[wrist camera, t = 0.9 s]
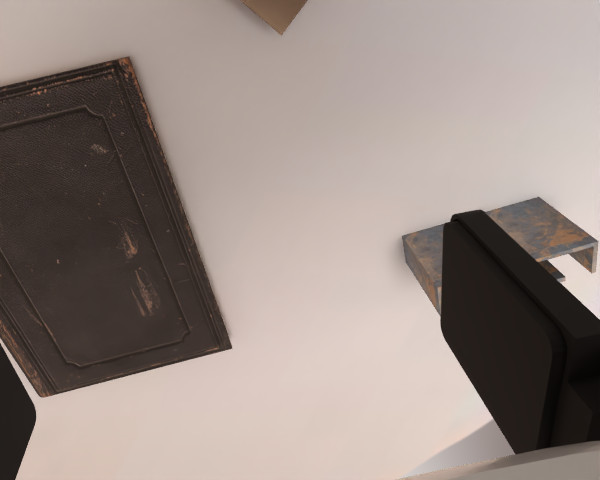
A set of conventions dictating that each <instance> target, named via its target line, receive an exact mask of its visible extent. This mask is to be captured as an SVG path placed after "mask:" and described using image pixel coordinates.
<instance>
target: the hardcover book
mask: <svg viewBox="0 0 600 480" xmlns="http://www.w3.org/2000/svg"><path fill="white" fill-rule="evenodd" d="M0 338H1V339H2V341H3V342H4V344H5V346H6V347H7V349H8V350H9V352H10V353H11V355H12V356H13V358H14V359H15V361H16V362H17V364H18V365H19V367H20V368H21V370H22V371H23V373H24V374H25V376H26V377H27V379H28V380H29V382H30V383H31V385H32V386H33V388H34V389H35V391H36V392H37V394H38V395H39V396H40V397H48V396H52V395H55V394H59V393H63V392H67V391H71V390H75V389H78V388H82V387H86V386H90V385H94V384H98V383H102V382H105V381H109V380H113V379H117V378H121V377H125V376H128V375H132V374H136V373H140V372H144V371H148V370H152V369H155V368H159V367H163V366H167V365H171V364H175V363H179V362H182V361H186V360H190V359H194V358H198V357H202V356H205V355H209V354H213V353H217V352H221V351H225V350H229V349H232V345H231V342H230V339H229V337H228V334H227V331H226V328H225V325H224V323H223V320H222V317H221V314H220V311H219V309H218V306H217V303H216V300H215V297H214V294H213V292H212V289H211V286H210V283H209V280H208V278H207V275H206V272H205V269H204V266H203V264H202V261H201V258H200V255H199V252H198V250H197V247H196V244H195V241H194V238H193V235H192V233H191V230H190V227H189V224H188V221H187V219H186V216H185V213H184V210H183V207H182V205H181V202H180V199H179V196H178V193H177V191H176V188H175V185H174V182H173V179H172V177H171V174H170V171H169V168H168V165H167V162H166V160H165V157H164V154H163V151H162V148H161V146H160V143H159V140H158V137H157V134H156V132H155V129H154V126H153V123H152V120H151V118H150V115H149V112H148V109H147V106H146V103H145V101H144V98H143V95H142V92H141V89H140V87H139V84H138V81H137V78H136V75H135V73H134V70H133V67H132V64H131V61H130V59H129V57H125V58H121V59H117V60H113V61H109V62H104V63H100V64H96V65H92V66H87V67H83V68H79V69H75V70H71V71H66V72H62V73H58V74H54V75H50V76H45V77H41V78H37V79H33V80H28V81H24V82H20V83H16V84H12V85H7V86H3V87H0Z"/></svg>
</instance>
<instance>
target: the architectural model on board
mask: <svg viewBox="0 0 600 480" xmlns="http://www.w3.org/2000/svg"><path fill="white" fill-rule="evenodd" d="M485 213H486V214H487V215H488V216H489V217H490V218H491V219H493V220H494V221H495V222H496V223H497V224H498V225H499V226H500V227H501V228H502V229H503V230H504V231H505V232H506V233H507V234H509V235H510V236H511V237H512V238H513V239H514V240H515V241H516V242H517V243H518V244H519V245H520V246H521V247H522V248H523V249H525V250H526V251H527V252H528V253H529V254H530V255H531V256H532V257H533V258H534V259H535V260H536V261H537V262H538V263H539V264H541V265H542V266H543V267H544V268H545V269H546V270H547V271H548V272H549V273H550V274H551V275H552V276H553V277H554V278H555V279H557V280H558V281H559V282H563V281H565V276H564V275H563V274H562V273H561V272H560V271H558V270H557V269H556V268H555V267H554V266H553V265H552V264H551V263H550V262H549V261H548V259H551V258H555V257H558V256H562V255H565V254H569V255H571V256H572V257H573V258H574V259H575V260H576V261H578V262H579V263H580V264H581V265H582V266H584V267H585V268H586V269H587V270H588V271H590V272H591V273H594V272H596V263H597V251H598V241H597V240H596V239H594V238H593V237H592V236H590V235H589V234H588V233H586V232H585V231H584V230H582V229H581V228H580V227H578V226H577V225H576V224H574V223H573V222H572V221H570V220H569V219H568V218H566V217H565V216H564V215H562V214H561V213H560V212H558V211H557V210H556V209H554V208H553V207H552V206H550V205H549V204H548V203H546V202H545V201H543V200H542V199H541V198H539V197H537V198H533V199H530V200H526V201H523V202H519V203H516V204H512V205H509V206H505V207H502V208H498V209H495V210H491V211H488V212H485ZM443 227H444V224H442V225H439V226H435V227H432V228H428V229H425V230H421V231H418V232H414V233H411V234H407V235H404V236H402V238H403V245H404V252H405V258H406V263H407V265H408V266H409V268H410V269H411V271H412V272H413V274H414V276H415V277H416V279H417V280H418V282H419V283H420V285H421V287H422V288H423V290H424V291H425V293H426V294H427V296H428V298H429V299H430V301H431V302H432V304H433V305H434V307H435V309H436V310H437V312H438V313H439V315H440V317H441V287H442V249H443Z"/></svg>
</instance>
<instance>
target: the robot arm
mask: <svg viewBox="0 0 600 480" xmlns="http://www.w3.org/2000/svg"><path fill="white" fill-rule="evenodd" d="M441 330H442V333H443V336H444V338H445V340H446V342H447V344H448V345H449V347H450V349H451V350H452V352H453V353H454V355H455V357H456V358H457V360H458V362H459V363H460V365H461V366H462V368H463V370H464V371H465V373H466V375H467V376H468V378H469V379H470V381H471V383H472V384H473V386H474V387H475V389H476V391H477V392H478V394H479V396H480V397H481V399H482V400H483V402H484V404H485V405H486V407H487V409H488V410H489V412H490V413H491V415H492V417H493V418H494V420H495V422H496V423H497V425H498V426H499V428H500V430H501V431H502V433H503V435H504V436H505V438H506V439H507V441H508V443H509V444H510V446H511V447H512V449H513V451H514V452H515V454H516V455H511V456H506V457H501V458H496V459H491V460H486V461H481V462H476V463H471V464H466V465H461V466H456V467H452V468H447V469H442V470H438V471H433V472H429V473H424V474H420V475H415V476H411V477H406V478H402V479H397V480H600V320H599V319H598V318H597V317H596V316H595V315H594V314H593V313H592V312H591V311H590V310H588V309H587V308H586V307H585V306H584V305H583V304H582V303H581V302H580V301H579V300H578V299H577V298H576V297H575V296H574V295H572V294H571V293H570V292H569V291H568V290H567V289H566V288H565V287H564V286H563V285H562V284H561V283H560V282H559V281H558V280H557V279H555V278H554V277H553V276H552V275H551V274H550V273H549V272H548V271H547V270H546V269H545V268H544V267H543V266H542V265H541V264H539V263H538V262H537V261H536V260H535V259H534V258H533V257H532V256H531V255H530V254H529V253H528V252H527V251H526V250H525V249H523V248H522V247H521V246H520V245H519V244H518V243H517V242H516V241H515V240H514V239H513V238H512V237H511V236H510V235H509V234H507V233H506V232H505V231H504V230H503V229H502V228H501V227H500V226H499V225H498V224H497V223H496V222H495V221H494V220H493V219H491V218H490V217H489V216H488V215H487V214H486V213H485V212H484V211H482V210H475V211H469V212H464V213H458V214H454V215H453V216H452V218H451V221H450V222H447V223H445V224H444V227H443V249H442V287H441ZM35 422H36V410H35V407H34V404H33V402H32V400H31V399H30V397H29V395H28V393H27V391H26V389H25V388H24V386H23V384H22V382H21V380H20V378H19V377H18V375H17V373H16V371H15V369H14V368H13V366H12V364H11V362H10V360H9V358H8V357H7V355H6V353H5V351H4V349H3V347H2V346H1V344H0V480H15V479H16V476H17V473H18V470H19V467H20V465H21V462H22V459H23V456H24V454H25V451H26V448H27V445H28V442H29V440H30V437H31V434H32V431H33V428H34V426H35Z"/></svg>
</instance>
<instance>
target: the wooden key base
mask: <svg viewBox="0 0 600 480" xmlns="http://www.w3.org/2000/svg"><path fill="white" fill-rule="evenodd" d="M241 1H242V2H243V3H244V4H245V5H246V6H248V7H249V8H250V9H251V10H252V11H253V12H255V13H256V14H257V15H258V16H259V17H260V18H262V19H263V20H264V21H265V22H266V23H267V24H269V25H270V26H271V27H272V28H273V29H274V30H276V31H277V32H278V33H279V34H280V35H282V34H283V32H284V31H285V30H286V28H287V27H288V26H289V24H290V23H291V22H292V20H293V19H294V18H295V16H296V15H297V14H298V12H299V11H300V10H301V8H302V7H303V6H304V4H305V3H306V2H307V0H241Z"/></svg>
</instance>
